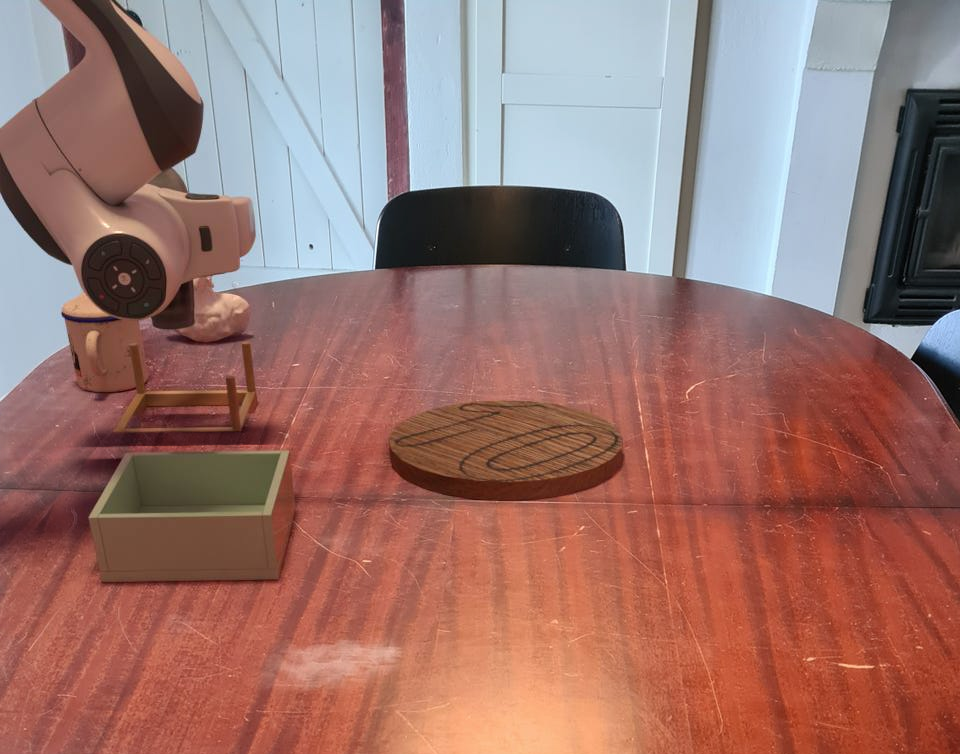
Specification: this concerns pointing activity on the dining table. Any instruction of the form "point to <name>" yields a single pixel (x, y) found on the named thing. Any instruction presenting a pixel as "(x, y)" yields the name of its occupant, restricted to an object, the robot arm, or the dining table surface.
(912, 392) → the dining table surface
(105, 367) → the teacup with lid
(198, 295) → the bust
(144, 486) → the open box
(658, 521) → the dining table surface
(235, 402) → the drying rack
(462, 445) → the trivet
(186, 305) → the beverage cup
